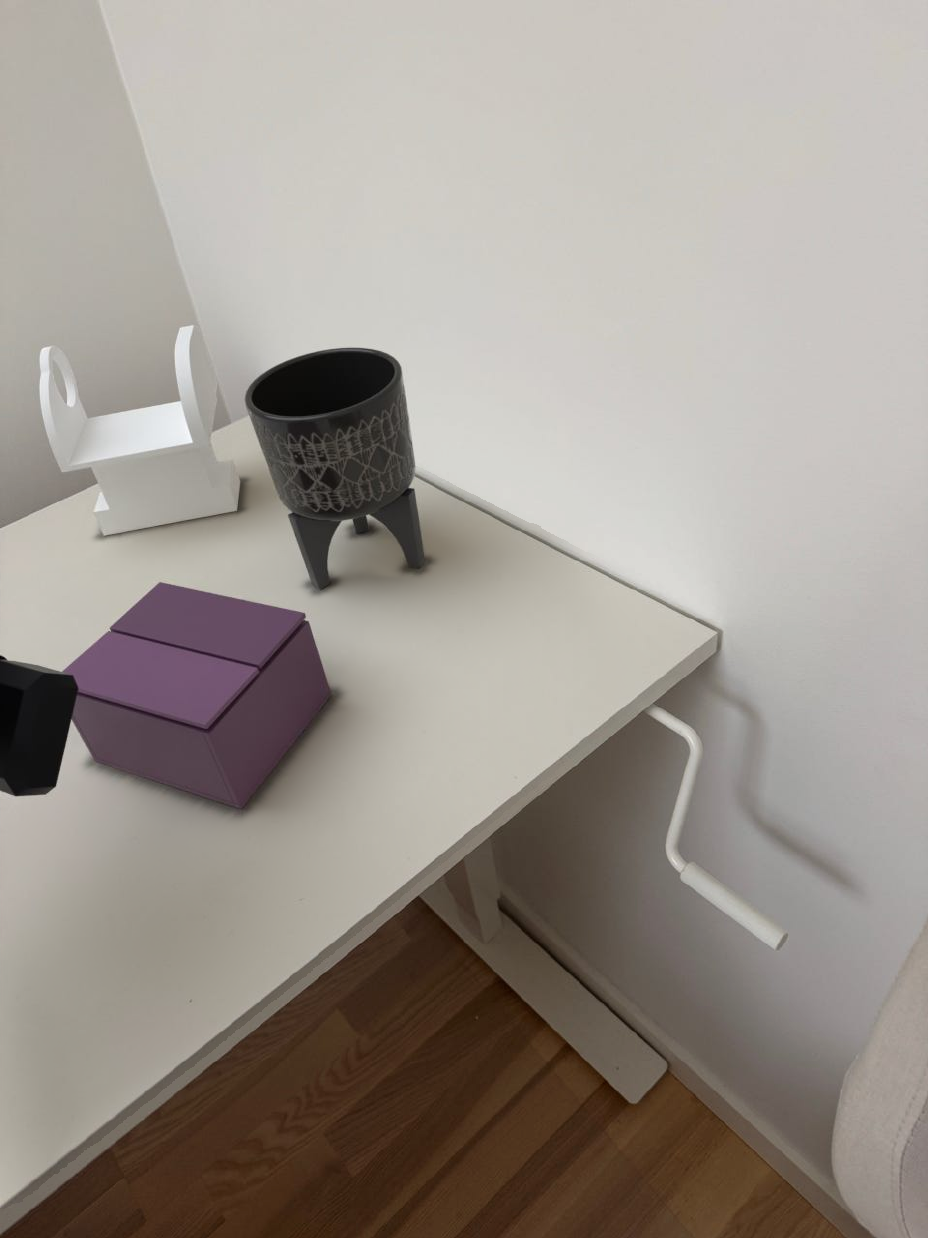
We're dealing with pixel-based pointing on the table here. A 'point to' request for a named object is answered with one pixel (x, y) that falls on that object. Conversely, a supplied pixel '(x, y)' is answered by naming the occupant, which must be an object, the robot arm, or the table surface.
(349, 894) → the table surface
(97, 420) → the tape dispenser
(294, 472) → the planter
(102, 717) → the box
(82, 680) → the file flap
